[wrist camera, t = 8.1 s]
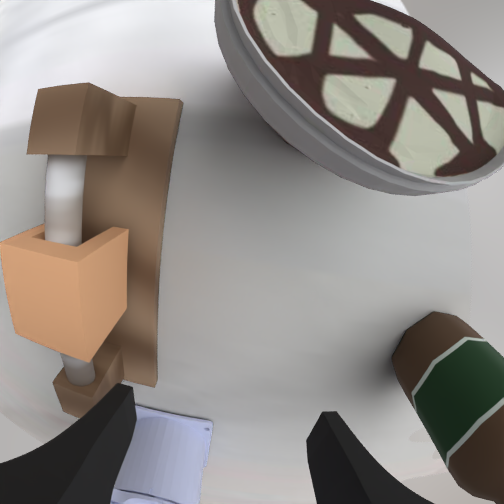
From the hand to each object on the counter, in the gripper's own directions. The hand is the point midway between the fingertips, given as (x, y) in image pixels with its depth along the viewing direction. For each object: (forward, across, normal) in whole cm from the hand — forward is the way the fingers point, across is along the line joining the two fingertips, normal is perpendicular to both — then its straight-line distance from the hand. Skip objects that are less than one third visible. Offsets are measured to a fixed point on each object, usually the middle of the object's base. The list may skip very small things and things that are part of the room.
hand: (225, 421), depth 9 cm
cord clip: (+7, +9, -2) cm, 12 cm away
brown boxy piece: (+9, +9, -2) cm, 13 cm away
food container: (+10, -3, -12) cm, 16 cm away
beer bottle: (+10, -17, +2) cm, 20 cm away
